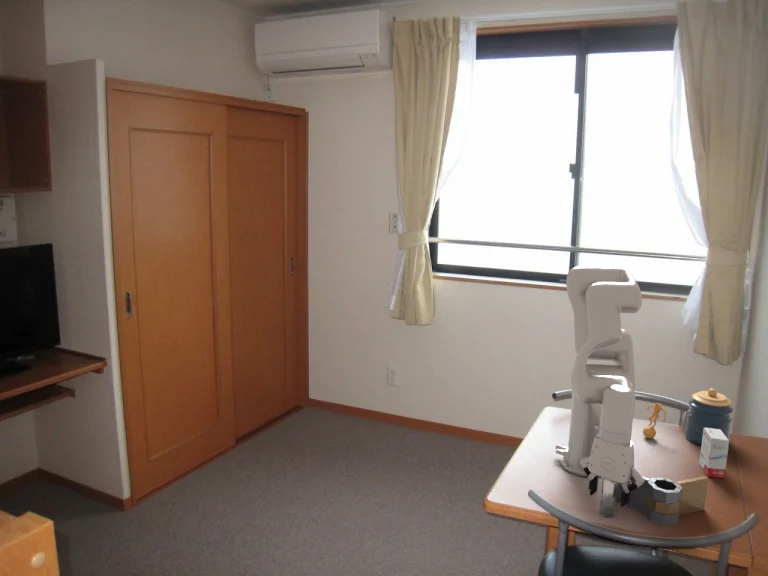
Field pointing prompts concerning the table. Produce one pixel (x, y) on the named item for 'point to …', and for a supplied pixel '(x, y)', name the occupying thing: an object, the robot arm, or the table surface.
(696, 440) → the canister
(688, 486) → the bronze hinge leaf
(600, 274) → the robot arm
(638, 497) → the fixed hinge leaf
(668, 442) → the table surface
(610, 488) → the hinge pin
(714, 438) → the ink box
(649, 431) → the figurine
